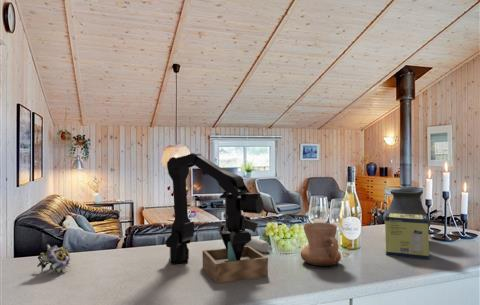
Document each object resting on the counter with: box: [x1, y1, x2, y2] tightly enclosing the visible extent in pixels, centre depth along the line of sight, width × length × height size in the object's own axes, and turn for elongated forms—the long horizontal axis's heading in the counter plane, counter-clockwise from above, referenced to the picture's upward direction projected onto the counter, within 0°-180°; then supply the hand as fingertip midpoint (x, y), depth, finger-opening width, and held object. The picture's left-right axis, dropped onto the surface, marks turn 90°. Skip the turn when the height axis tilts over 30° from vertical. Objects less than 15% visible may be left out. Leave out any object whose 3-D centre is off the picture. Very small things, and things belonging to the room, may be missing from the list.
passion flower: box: [36, 244, 71, 275], centre depth 117 cm, size 11×11×12 cm
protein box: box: [384, 213, 430, 261], centre depth 137 cm, size 10×16×16 cm
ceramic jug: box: [300, 221, 342, 267], centre depth 125 cm, size 18×14×14 cm
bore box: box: [202, 246, 269, 284], centre depth 117 cm, size 18×17×6 cm
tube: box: [245, 236, 270, 253], centre depth 150 cm, size 5×5×25 cm
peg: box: [228, 241, 237, 261], centre depth 117 cm, size 4×4×10 cm
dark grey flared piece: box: [382, 185, 432, 230], centre depth 160 cm, size 21×22×25 cm
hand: (233, 256), depth 117 cm, fingers open, 9 cm apart
